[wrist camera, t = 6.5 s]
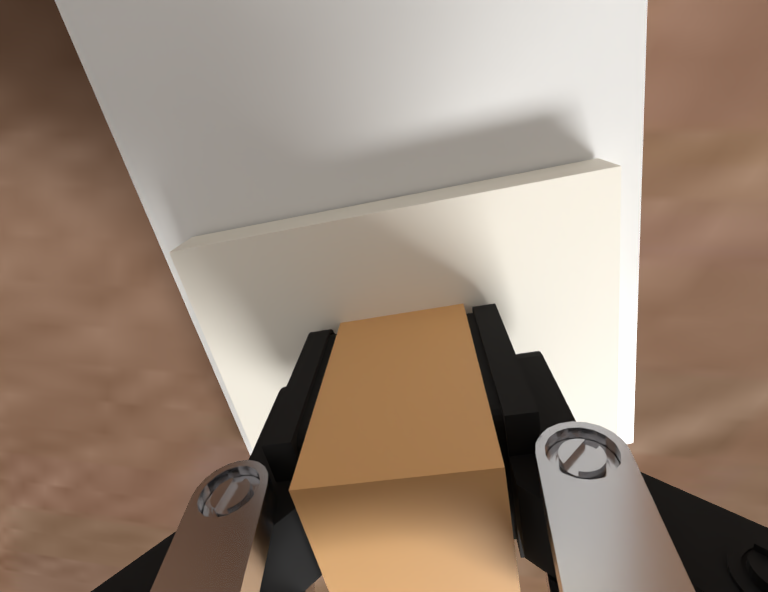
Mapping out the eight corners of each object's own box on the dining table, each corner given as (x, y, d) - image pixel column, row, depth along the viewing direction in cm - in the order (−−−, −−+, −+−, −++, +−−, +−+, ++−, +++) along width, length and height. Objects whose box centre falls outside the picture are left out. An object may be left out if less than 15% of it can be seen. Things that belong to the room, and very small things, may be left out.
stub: (597, 158, 10) (841, 241, 4) (600, 431, 13) (741, 682, 8) (191, 237, 11) (-26, 379, 6) (283, 467, 14) (202, 704, 9)
